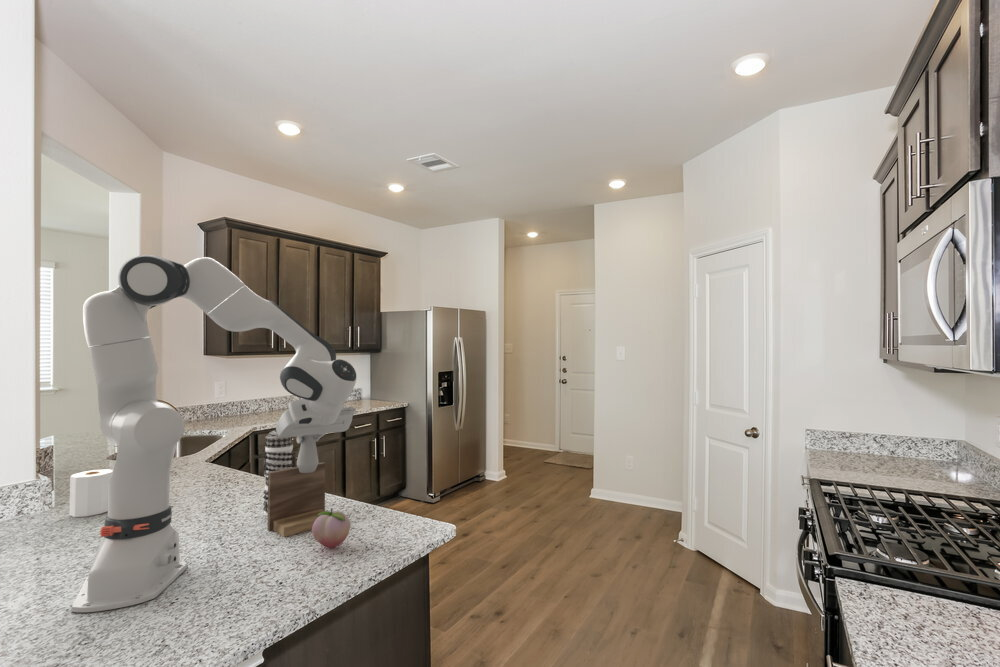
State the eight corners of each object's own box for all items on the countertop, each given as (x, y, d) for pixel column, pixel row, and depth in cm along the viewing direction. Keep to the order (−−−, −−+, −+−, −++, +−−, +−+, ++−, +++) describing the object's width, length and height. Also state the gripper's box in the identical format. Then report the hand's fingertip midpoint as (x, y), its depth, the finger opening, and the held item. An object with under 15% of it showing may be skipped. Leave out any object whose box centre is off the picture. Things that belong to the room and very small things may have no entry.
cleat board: (336, 522, 139) (336, 467, 140) (280, 538, 128) (280, 477, 128) (322, 515, 145) (322, 462, 146) (267, 529, 134) (268, 472, 134)
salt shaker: (321, 469, 139) (323, 424, 140) (312, 474, 133) (314, 427, 134) (302, 468, 140) (304, 423, 140) (292, 473, 134) (294, 426, 135)
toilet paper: (69, 511, 150) (70, 472, 151) (111, 504, 157) (112, 467, 158) (69, 519, 143) (70, 479, 143) (113, 511, 150) (114, 473, 150)
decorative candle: (255, 515, 145) (256, 433, 146) (276, 506, 154) (276, 428, 155) (280, 518, 143) (281, 434, 144) (300, 508, 152) (301, 429, 153)
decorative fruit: (357, 543, 124) (357, 504, 124) (338, 556, 116) (338, 515, 116) (326, 539, 127) (326, 501, 127) (305, 552, 119) (306, 511, 119)
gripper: (354, 398, 140) (337, 428, 147) (283, 402, 126) (267, 435, 132) (361, 415, 137) (344, 445, 143) (289, 420, 122) (273, 454, 129)
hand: (306, 440), depth 137 cm, fingers closed on salt shaker, 3 cm apart
